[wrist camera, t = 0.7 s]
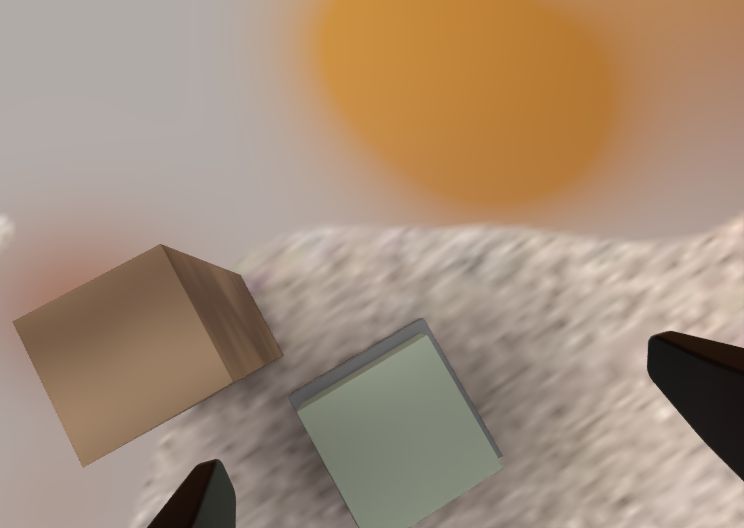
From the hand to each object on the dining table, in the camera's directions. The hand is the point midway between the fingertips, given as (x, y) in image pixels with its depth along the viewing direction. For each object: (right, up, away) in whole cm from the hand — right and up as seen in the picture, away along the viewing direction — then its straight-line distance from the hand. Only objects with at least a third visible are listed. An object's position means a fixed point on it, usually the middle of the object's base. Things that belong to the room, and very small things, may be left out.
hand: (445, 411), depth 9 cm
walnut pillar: (-10, -1, +15) cm, 18 cm away
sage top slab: (0, -5, +13) cm, 14 cm away
